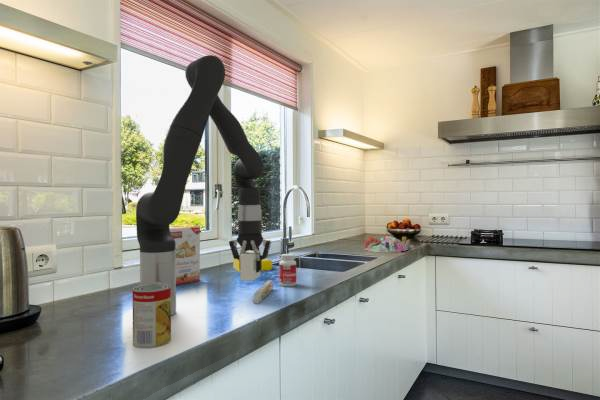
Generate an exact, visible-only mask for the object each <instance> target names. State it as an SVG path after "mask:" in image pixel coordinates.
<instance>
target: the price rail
mask: <svg viewBox="0 0 600 400" xmlns="http://www.w3.org/2000/svg"><path fill="white" fill-rule="evenodd" d="M273 289H274V282H273V280H270V279H268V280H267V281H266V282H264V283H263V284H262V285H261V286H260V287H259V288H258V289H257V290H256V291H255V292H254V293H253V304H260V303H262V301H264V299H266V297H267V296H268V295H269V294H270V293H271V292H272V291H273Z"/></svg>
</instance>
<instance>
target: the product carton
mask: <svg viewBox="0 0 600 400" xmlns="http://www.w3.org/2000/svg"><path fill="white" fill-rule="evenodd" d="M239 255H240V254H239ZM256 261H257V259H256V254H254V251H251V250H248V251H247V252H246V253H244V254H241V255H240V272H239V273H240V281H243V282H244V281H247V282H249V281H250V282H253V281H255V280H256V279H257V278H258V277H259V276H261V271H260V272H256Z"/></svg>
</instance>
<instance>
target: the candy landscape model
mask: <svg viewBox="0 0 600 400" xmlns="http://www.w3.org/2000/svg"><path fill="white" fill-rule="evenodd" d="M407 238H408V237H407V236H402V237H401V240H400V239H398V238H397V237H394V236H391V235H386V236H385V237H381V238H380V239H378V238H377V237H372V236H368V237H367V238H366V241H365V242H364V250H365V249H366V250H369V251H374V252H373V253H376V252H388V251H397V250H398V251H403V250H405V251H406V250H408V249H409V248H408V247H409V246H410V243H411V239H407ZM373 243H375V244H373ZM371 244H373V245H371ZM369 245H371V247H368V246H369ZM369 251H368V252H369ZM408 251H409V250H408ZM406 252H407V251H406Z"/></svg>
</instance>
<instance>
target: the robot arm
mask: <svg viewBox="0 0 600 400" xmlns="http://www.w3.org/2000/svg"><path fill="white" fill-rule="evenodd" d="M184 74H185V80H186V82H187V83H188V86H189V87H190V88H191V91H190V93H189V96H188V97H187V99H186V100H185V102H184V103H183V104H182V106H181V107H180V109H179V110H178V111H177V113H175V116H174V117H173V119H172V121H171V123H170V125H169V129H168V130H167V134H166V137H165V140H164V143H163V152H162V153H163V154H162V157H163V161H162V163H163V165H162V172H161V175H160V177H159V180H158V182H157V185H156V187H155V189H154V191H151V192H147V193H144V194H143V195H142V196H141V197H140V198H139V199H138V201H137V203H136V208H135V222H136V238H137V242H138V245H139V282H138V283H139V285H145V284H157V283H159V284H169V285H170V286H171V316H172V315H173V316H174V315H175V314H176V312H177V284H176V250H175V249H176V245H175V240H174V239H173V237H172V236H171V233H170V228H171V227H170V225H171V224H173V223H174V222H175V221H176V220H177V219H178V217H179V215H180V212H181V208H182V203H183V200H184V195H185V190H186V186H187V182H188V180H189V176H190V173H191V171H192V167H193V165H194V162H195V158H196V157H197V154H198V151H199V148H200V145H201V142H202V139H203V136H204V132H205V130H206V127H207V123H208V120H209V117H210V118H211V120H212V122H213V123H214V125H215V126H216V128H217V131H218V132H219V134H220V137H221V139H222V141H223V142H224V145H225V146H226V148H227V150H228V152H229V153H230V154H231V155H234V156H236V157H238V159H237V160H236V161H235V164H234V166H233V176H234V180H235V185H236V189H237V193H238V209H237V226H238V227H237V229H238V230H237V231H238V233H237V235H238V236H237V237H236V239H234V240H233V239H232V240H229V242H228V244H229V246H230V247H229V248H230V250H231V254H232V257H233V259H238V260H239V262H240V255H241V254H244V253H246V252H247V251H254V254H256V259H257V261H256V272H260V273H261V271H260V270H261V269H262V259H265V258H267V257H268V255H269V251H270V248H271V245H272V241H271V240H270V239H264V237H263V234H262V231H263V229H262V225H263V224H262V207H261V190H260V188H259V187H257V186H255V185H254V181H253V180H256V179H260V178H262V176H263V175H264V172H265V164H264V160H263V159H262V157H261V156H260V154H259V153H258V152H257V150H256V149H255V148H254V146H253V145H252V144H251V143H250V141H249V140H248V137H247V135H246V132H245V130H244V129H243V126H242V125H241V123H240V121H239V120H238V119H237V118H236V117H235V115H234V114H233V113H232V112H231V111H230V109H228V107H226V105H225V104H224V102H222V100H221V98H220V97H219V93H220V91H221V89H222V86H223V83H224V82H225V78H226V69H225V65H224V63H223V61H222V60H221V58H219V57H218V56H216V55H212V54H211V55H209V54H208V55H204V56H202V57H199V58H197V59H196V60H194V61H191V62H190V63H189V64H187V66H186V68H185V73H184ZM262 243H263V247H264V248H263V251H262V254H261V250H260V249H261V248H260V246H261V245H262ZM238 245H239V246H240V247H241V248H240V251H238V247H237V246H238ZM239 252H240V253H239ZM139 285H138V286H139Z"/></svg>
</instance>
